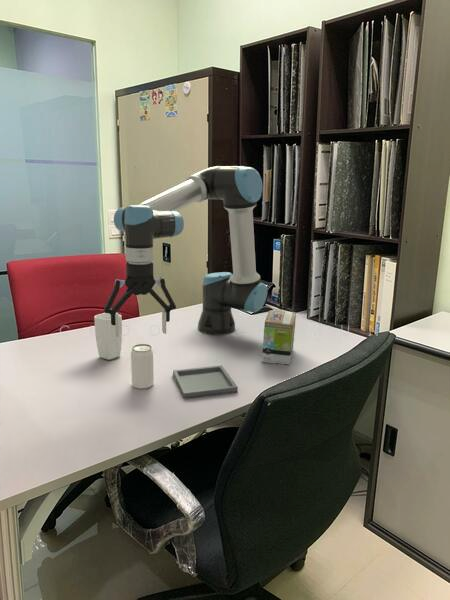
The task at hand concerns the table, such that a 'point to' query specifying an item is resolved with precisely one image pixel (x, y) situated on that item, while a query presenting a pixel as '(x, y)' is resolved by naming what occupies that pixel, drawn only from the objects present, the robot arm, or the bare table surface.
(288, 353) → the tea box
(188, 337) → the table surface
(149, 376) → the can
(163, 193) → the robot arm
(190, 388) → the tray
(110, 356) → the cup
